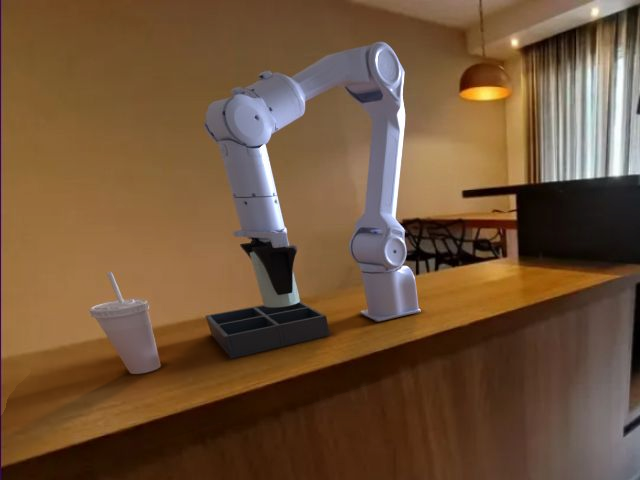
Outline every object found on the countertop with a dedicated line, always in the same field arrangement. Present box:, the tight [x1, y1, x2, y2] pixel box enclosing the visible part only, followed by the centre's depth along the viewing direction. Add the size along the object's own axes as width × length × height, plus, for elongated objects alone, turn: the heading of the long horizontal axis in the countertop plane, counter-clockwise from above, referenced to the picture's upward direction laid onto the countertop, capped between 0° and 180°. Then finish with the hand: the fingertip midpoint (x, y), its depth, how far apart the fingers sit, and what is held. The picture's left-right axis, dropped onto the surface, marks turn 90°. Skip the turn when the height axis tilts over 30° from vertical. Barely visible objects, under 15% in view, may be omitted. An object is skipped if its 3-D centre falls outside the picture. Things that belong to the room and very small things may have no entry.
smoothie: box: [88, 271, 162, 375], centre depth 62 cm, size 6×6×14 cm
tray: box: [205, 300, 331, 360], centre depth 76 cm, size 15×15×4 cm
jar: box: [250, 252, 301, 307], centre depth 68 cm, size 5×5×8 cm
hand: (278, 290), depth 69 cm, fingers closed on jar, 5 cm apart
